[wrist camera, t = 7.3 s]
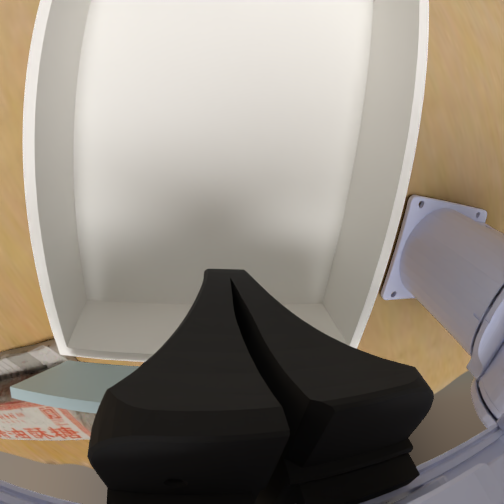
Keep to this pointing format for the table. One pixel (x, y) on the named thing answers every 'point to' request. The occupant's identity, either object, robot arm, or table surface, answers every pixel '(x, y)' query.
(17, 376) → the packaged product
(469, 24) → the table surface
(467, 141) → the table surface
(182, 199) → the carton
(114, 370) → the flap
